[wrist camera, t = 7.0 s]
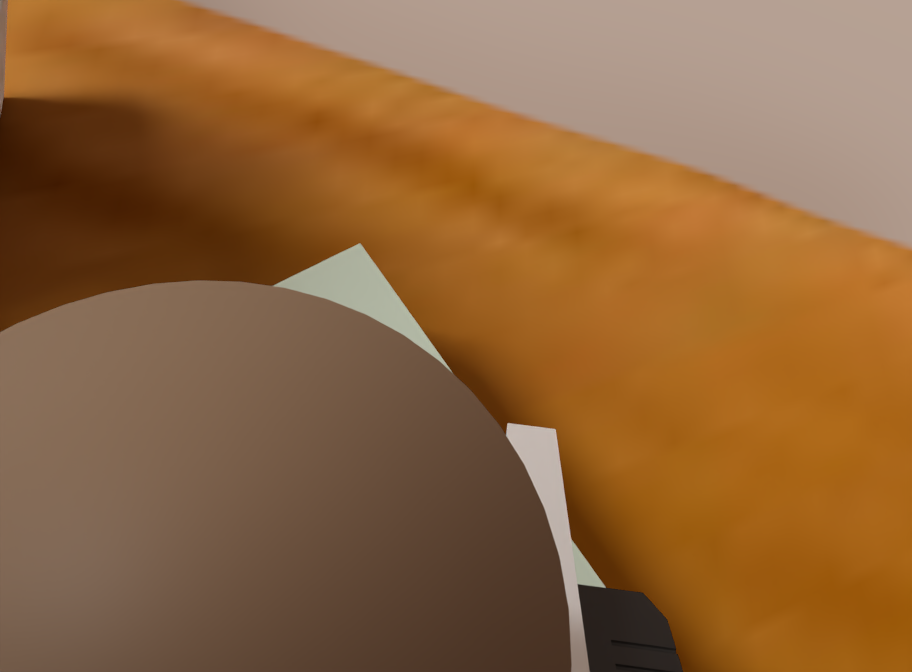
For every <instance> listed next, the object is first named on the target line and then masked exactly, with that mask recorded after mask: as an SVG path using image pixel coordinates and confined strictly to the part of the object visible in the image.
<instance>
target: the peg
mask: <svg viewBox="0 0 912 672" xmlns="http://www.w3.org/2000/svg"><path fill="white" fill-rule="evenodd" d="M571 666H572V664H571V644H570V624H569V608H568V602H567V596H566V591H565V585H564V579H563V574H562V568H561V562H560V557H559V554H558V550H557V547H556V544H555V541H554V538H553V534H552V531H551V528H550V525H549V521H548V518H547V515H546V512H545V509H544V506H543V504H542V502H541V500H540V498H539V496H538V493H537V491H536V489H535V487H534V485H533V482H532V480H531V478H530V476H529V474H528V472H527V469H526V467H525V465H524V463H523V462H522V460H521V459H520V457H519V455H518V454H517V452H516V451H515V449H514V447H513V446H512V444H511V443H510V441H509V439H508V438H507V436H506V435H505V433H504V431H503V430H502V428H501V427H500V425H499V424H498V423H497V421H496V420H495V419H494V418H493V417H492V415H491V414H490V413H489V412H488V410H487V409H486V408H485V407H484V406H483V404H482V403H481V402H480V401H479V400H478V398H477V397H476V396H475V395H474V394H473V392H472V391H471V390H470V389H469V388H468V387H467V386H466V385H465V384H464V383H463V382H461V381H460V380H459V379H458V378H457V377H456V376H455V375H454V374H453V373H452V372H451V371H450V370H449V369H448V368H446V367H445V366H444V365H443V364H442V363H441V362H440V361H439V360H438V359H436V358H435V357H434V356H432V355H431V354H429V353H428V352H427V351H425V350H424V349H422V348H421V347H420V346H418V345H417V344H415V343H414V342H413V341H411V340H410V339H409V338H407V337H406V336H404V335H403V334H401V333H399V332H397V331H395V330H394V329H392V328H390V327H388V326H386V325H384V324H383V323H381V322H379V321H377V320H375V319H373V318H372V317H370V316H368V315H366V314H364V313H361V312H358V311H356V310H353V309H351V308H348V307H346V306H343V305H341V304H338V303H336V302H333V301H331V300H328V299H325V298H321V297H318V296H314V295H310V294H306V293H302V292H299V291H295V290H291V289H287V288H282V287H275V286H268V285H261V284H254V283H247V282H235V281H203V280H196V281H183V282H170V283H157V284H149V285H144V286H138V287H133V288H127V289H122V290H116V291H111V292H106V293H103V294H99V295H96V296H92V297H89V298H86V299H82V300H79V301H75V302H72V303H68V304H65V305H62V306H59V307H57V308H54V309H52V310H49V311H47V312H44V313H42V314H39V315H37V316H34V317H32V318H29V319H27V320H24V321H22V322H19V323H17V324H15V325H13V326H11V327H9V328H7V329H5V330H3V331H1V332H0V672H571Z"/></svg>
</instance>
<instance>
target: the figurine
mask: <svg viewBox="0 0 912 672" xmlns="http://www.w3.org/2000/svg"><path fill="white" fill-rule="evenodd" d="M7 3H8V0H0V116H1V110H2V104H3V99H4V81H5V55H6V29H7Z"/></svg>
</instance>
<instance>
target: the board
mask: <svg viewBox="0 0 912 672" xmlns="http://www.w3.org/2000/svg"><path fill="white" fill-rule="evenodd" d="M273 286H275V287H282V288H287V289H291V290H295V291H299V292H302V293H306V294H310V295H314V296H318V297H321V298H325V299H328V300H331V301H333V302H336V303H338V304H341V305H343V306H346V307H348V308H351V309H353V310H356V311H358V312H361V313H364V314H366V315H368V316H370V317H372V318H373V319H375V320H377V321H379V322H381V323H383V324H384V325H386V326H388V327H390V328H392V329H394V330H395V331H397V332H399V333H401V334H403V335H404V336H406V337H407V338H409V339H410V340H411V341H413V342H414V343H415V344H417V345H418V346H420V347H421V348H422V349H424V350H425V351H427V352H428V353H429V354H431V355H432V356H434V357H435V358H436V359H438V360H439V361H440V362H441V363H442V364H443V365H444V366H445V367H446V368H448V369H449V370H450V368H449V367H448V366H447V364H446V363H445V361H444V360H443V359H442V357H441V356H440V354H439V353H438V352H437V350H436V349H435V347H434V346H433V345H432V343H431V342H430V340H429V339H428V338H427V336H426V335H425V333H424V332H423V331H422V329H421V328H420V326H419V325H418V323H417V322H416V321H415V319H414V318H413V316H412V315H411V314H410V312H409V311H408V309H407V308H406V307H405V305H404V304H403V302H402V301H401V300H400V298H399V297H398V295H397V294H396V293H395V291H394V290H393V288H392V287H391V286H390V284H389V283H388V281H387V280H386V279H385V277H384V276H383V274H382V273H381V272H380V270H379V269H378V267H377V266H376V265H375V263H374V262H373V260H372V259H371V258H370V256H369V255H368V253H367V252H366V251H365V249H364V248H363V246H362V245H361V244H360V243H359V244H357V245H355V246H353V247H351V248H349V249H347V250H345V251H343V252H341V253H339V254H337V255H335V256H333V257H331V258H329V259H326V260H324V261H322V262H320V263H318V264H316V265H314V266H312V267H310V268H308V269H306V270H304V271H302V272H300V273H298V274H296V275H294V276H292V277H290V278H288V279H286V280H284V281H281V282H279V283H277V284H275V285H273ZM450 371H451V370H450ZM451 372H452V371H451ZM571 542H572V549H573V556H574V563H575V571H576V578H577V584H581V585H588V586H596V587H603V588H606V587H605V585H604V584H603V583H602V581H601V580H600V578H599V577H598V576H597V574H596V573H595V571H594V570H593V569H592V567H591V566H590V564H589V563H588V562H587V560H586V559H585V557H584V556H583V555H582V553H581V552H580V550H579V549H578V548H577V546H576V545H575V543H574V542H573V541H572V539H571Z"/></svg>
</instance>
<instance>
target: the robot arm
mask: <svg viewBox="0 0 912 672" xmlns="http://www.w3.org/2000/svg"><path fill="white" fill-rule="evenodd" d="M506 436H507V438H508V439H509V441H510V443H511V444H512V446H513V447H514V449H515V451H516V452H517V454H518V455H519V457H520V459H521V460H522V462H523V463H524V465H525V467H526V469H527V472H528V474H529V476H530V478H531V480H532V482H533V485H534V487H535V489H536V491H537V493H538V496H539V498H540V500H541V502H542V504H543V506H544V509H545V512H546V515H547V518H548V521H549V525H550V528H551V531H552V534H553V538H554V541H555V544H556V547H557V550H558V554H559V557H560V562H561V568H562V574H563V579H564V585H565V591H566V596H567V602H568V608H569V624H570V644H571V664H572V666H571V672H683V670H682V667H681V663H680V660H679V657H678V654H676V647H675V644H674V640H673V637H672V634H671V631H670V627H669V624H668V621H667V619H666V618H665V617H664V616H663V614H662V613H661V612H660V611H659V610H658V609H657V608H656V607H655V606H654V605H653V603H652V602H651V601H650V600H649V599H648V598H647V597H646V596H645V595H644V594H643V593H640V592H633V591H625V590H618V589H610V588H603V587H596V586H588V585H581V584H577V578H576V571H575V563H574V556H573V549H572V542H571V535H570V528H569V521H568V514H567V506H566V499H565V492H564V485H563V478H562V471H561V464H560V457H559V449H558V442H557V435H556V429H551V428H543V427H535V426H527V425H520V424H512V423H508V424H507V431H506Z"/></svg>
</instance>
